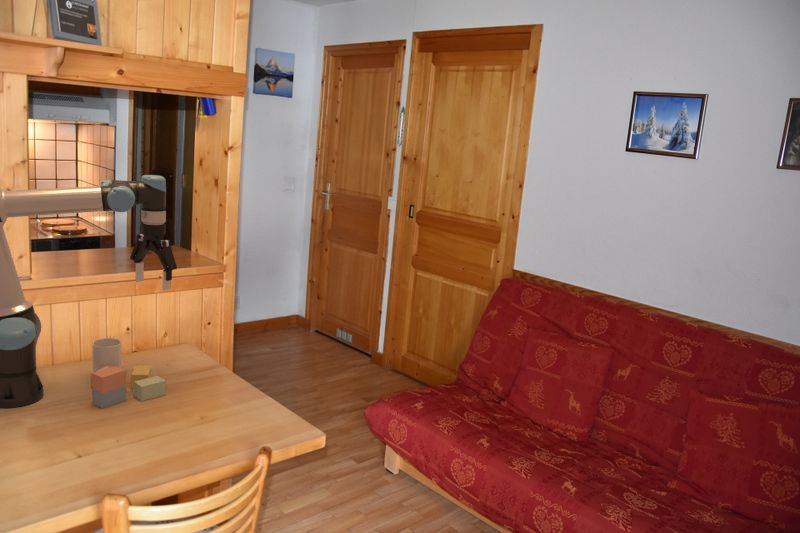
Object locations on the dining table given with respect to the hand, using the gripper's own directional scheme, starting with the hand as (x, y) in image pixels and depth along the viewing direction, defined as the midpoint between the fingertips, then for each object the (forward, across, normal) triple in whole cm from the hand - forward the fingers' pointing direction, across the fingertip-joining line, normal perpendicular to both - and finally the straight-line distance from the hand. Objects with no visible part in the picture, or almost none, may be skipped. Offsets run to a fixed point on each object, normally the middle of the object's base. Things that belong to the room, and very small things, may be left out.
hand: (152, 285), depth 219 cm
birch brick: (+31, -1, -17) cm, 35 cm away
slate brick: (+31, +10, -24) cm, 40 cm away
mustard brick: (+31, +6, -9) cm, 33 cm away
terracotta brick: (+26, +10, -24) cm, 37 cm away
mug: (+31, -10, -10) cm, 34 cm away
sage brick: (+31, +15, -13) cm, 37 cm away
